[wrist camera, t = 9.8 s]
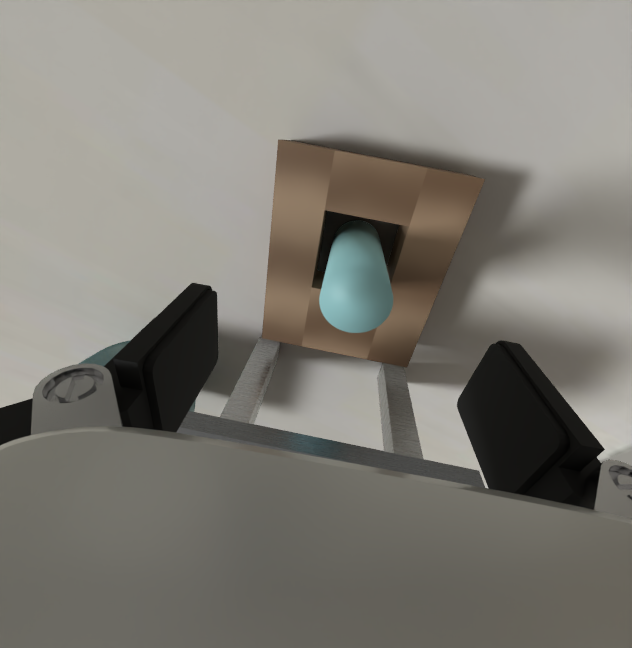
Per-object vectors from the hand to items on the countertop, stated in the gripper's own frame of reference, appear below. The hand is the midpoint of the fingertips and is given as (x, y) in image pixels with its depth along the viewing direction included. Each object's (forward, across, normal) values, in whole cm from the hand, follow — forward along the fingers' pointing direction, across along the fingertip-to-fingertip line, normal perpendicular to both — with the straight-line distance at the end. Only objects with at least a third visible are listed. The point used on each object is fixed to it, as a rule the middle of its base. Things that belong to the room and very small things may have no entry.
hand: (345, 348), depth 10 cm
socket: (+15, -1, +2) cm, 15 cm away
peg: (+15, -1, +1) cm, 15 cm away
